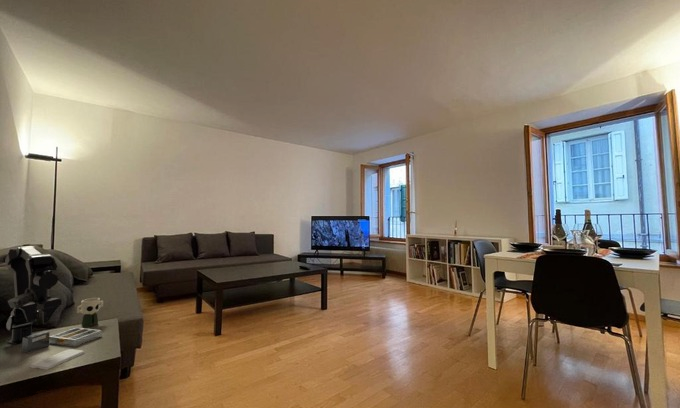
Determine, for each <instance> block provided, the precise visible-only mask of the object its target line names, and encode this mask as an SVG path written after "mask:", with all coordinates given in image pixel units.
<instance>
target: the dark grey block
mask: <svg viewBox="0 0 680 408" xmlns="http://www.w3.org/2000/svg"><path fill="white" fill-rule="evenodd" d="M49 336H50V331H47V330H43V331H41V332H37V333H32V335H30V336H27V337H24V338H23V341H22V342H21V343H22V346H21V347H22V348H21V353H22V354H29V353H32V352H35V351H39V350H41V349H43V348H47V347H49V345H50V343H49Z"/></svg>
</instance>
